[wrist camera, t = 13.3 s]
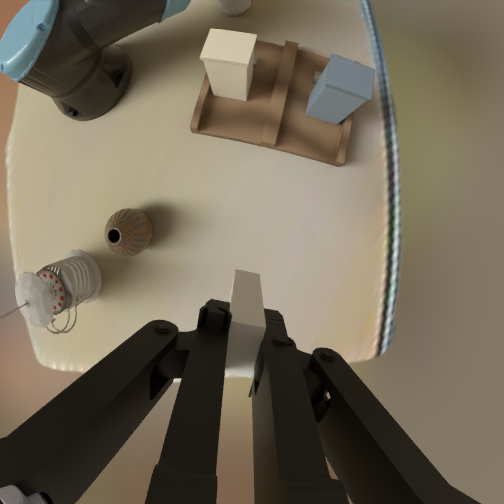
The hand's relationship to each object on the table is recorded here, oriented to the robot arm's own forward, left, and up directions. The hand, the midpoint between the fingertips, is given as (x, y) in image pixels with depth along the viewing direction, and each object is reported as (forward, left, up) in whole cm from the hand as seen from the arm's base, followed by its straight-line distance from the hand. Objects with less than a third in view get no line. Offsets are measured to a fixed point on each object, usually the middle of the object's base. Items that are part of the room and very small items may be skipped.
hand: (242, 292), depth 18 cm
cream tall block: (-21, +11, -24) cm, 34 cm away
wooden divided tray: (-16, +17, -26) cm, 35 cm away
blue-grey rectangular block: (-11, +21, -24) cm, 34 cm away
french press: (-9, -28, -26) cm, 40 cm away
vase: (-10, -13, -26) cm, 31 cm away
